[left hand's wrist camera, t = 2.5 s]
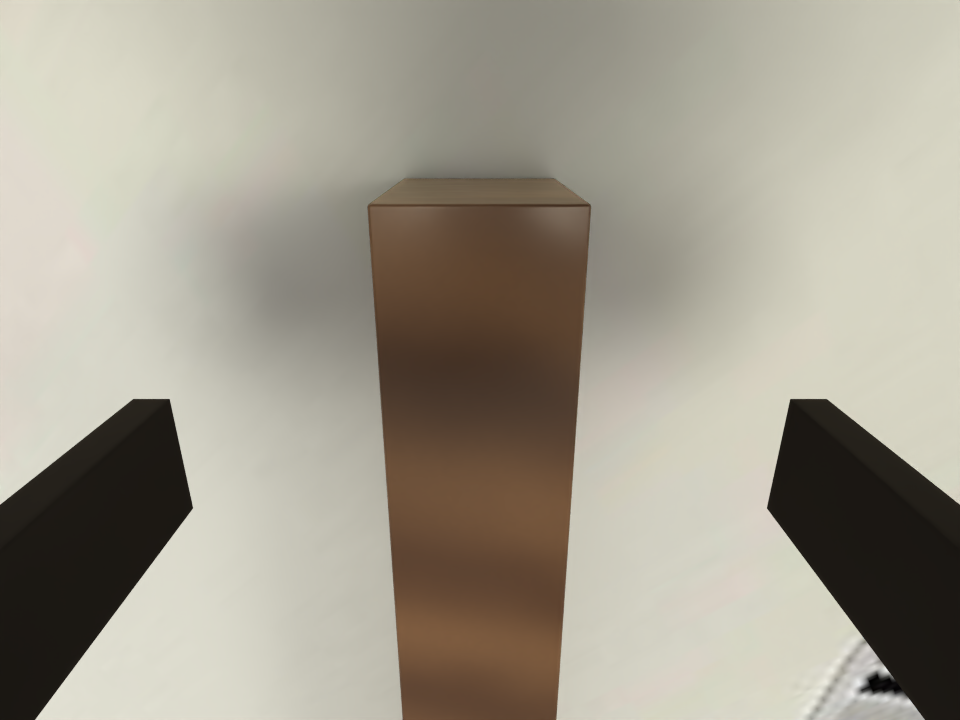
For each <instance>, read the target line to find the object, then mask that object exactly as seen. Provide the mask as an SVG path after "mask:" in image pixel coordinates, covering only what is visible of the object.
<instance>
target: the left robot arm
mask: <svg viewBox="0 0 960 720" xmlns="http://www.w3.org/2000/svg"><path fill="white" fill-rule="evenodd" d="M192 509H193V506H192V501H191V496H190V492H189V487H188V483H187V478H186V473H185V469H184V464H183V459H182V455H181V450H180V445H179V441H178V436H177V431H176V427H175V422H174V417H173V413H172V408H171V403H170V399H133V400H132V401H130V402H129V403H128V404H127V405H125V406H124V407H123V408H122V409H120V410H119V411H118V412H117V413H115V414H114V415H113V416H112V417H110V418H109V419H108V420H106V421H105V422H104V423H103V424H101V425H100V426H99V427H98V428H96V429H95V430H94V431H93V432H91V433H90V434H89V435H88V436H86V437H85V438H84V439H83V440H81V441H80V442H79V443H77V444H76V445H75V446H74V447H72V448H71V449H70V450H69V451H67V452H66V453H65V454H64V455H62V456H61V457H60V458H59V459H57V460H56V461H55V462H54V463H52V464H51V465H50V466H48V467H47V468H46V469H45V470H43V471H42V472H41V473H40V474H38V475H37V476H36V477H35V478H33V479H32V480H31V481H30V482H28V483H27V484H26V485H25V486H23V487H22V488H21V489H20V490H18V491H17V492H16V493H14V494H13V495H12V496H11V497H9V498H8V499H7V500H6V501H4V502H3V503H2V504H1V505H0V720H35V719H36V718H37V716H38V715H39V714H40V712H41V711H42V710H43V708H44V707H45V706H46V704H47V703H48V702H49V700H50V699H51V698H52V696H53V695H54V694H55V692H56V691H57V690H58V688H59V687H60V686H61V684H62V683H63V682H64V680H65V679H66V678H67V676H68V675H69V674H70V672H71V671H72V669H73V668H74V667H75V665H76V664H77V663H78V661H79V660H80V659H81V657H82V656H83V655H84V653H85V652H86V651H87V649H88V648H89V647H90V645H91V644H92V643H93V641H94V640H95V639H96V637H97V636H98V635H99V633H100V632H101V631H102V629H103V628H104V627H105V625H106V624H107V623H108V621H109V620H110V619H111V617H112V616H113V615H114V613H115V612H116V611H117V609H118V608H119V607H120V605H121V604H122V603H123V601H124V600H125V599H126V597H127V596H128V595H129V593H130V592H131V591H132V589H133V588H134V587H135V585H136V584H137V582H138V581H139V580H140V578H141V577H142V576H143V574H144V573H145V572H146V570H147V569H148V568H149V566H150V565H151V564H152V562H153V561H154V560H155V558H156V557H157V556H158V554H159V553H160V552H161V550H162V549H163V548H164V546H165V545H166V544H167V542H168V541H169V540H170V538H171V537H172V536H173V534H174V533H175V532H176V530H177V529H178V528H179V526H180V525H181V524H182V522H183V521H184V520H185V518H186V517H187V516H188V514H189V513H190V512H191V510H192ZM767 509H768V510H769V512H770V513H771V514H772V516H773V517H774V518H775V520H776V521H777V522H778V524H779V525H780V526H781V528H782V529H783V530H784V532H785V533H786V534H787V536H788V537H789V538H790V540H791V541H792V542H793V544H794V545H795V546H796V548H797V549H798V550H799V552H800V553H801V554H802V556H803V557H804V558H805V560H806V561H807V562H808V564H809V565H810V566H811V568H812V569H813V570H814V572H815V573H816V574H817V576H818V577H819V578H820V580H821V581H822V582H823V584H824V585H825V587H826V588H827V589H828V591H829V592H830V593H831V595H832V596H833V597H834V599H835V600H836V601H837V603H838V604H839V605H840V607H841V608H842V609H843V611H844V612H845V613H846V615H847V616H848V617H849V619H850V620H851V621H852V623H853V624H854V625H855V627H856V628H857V629H858V631H859V632H860V633H861V635H862V636H863V637H864V639H865V640H866V641H867V643H868V644H869V645H870V647H871V648H872V649H873V651H874V652H875V653H876V655H877V656H878V657H879V659H880V660H881V661H882V663H883V664H884V665H885V667H886V668H887V669H888V671H889V672H890V674H891V675H892V676H893V678H894V679H895V680H896V682H897V683H898V684H899V686H900V687H901V688H902V690H903V691H904V692H905V694H906V695H907V696H908V698H909V699H910V700H911V702H912V703H913V704H914V706H915V707H916V708H917V710H918V711H919V712H920V714H921V715H922V716H923V718H924V719H925V720H960V505H959V504H958V503H957V502H956V501H954V500H953V499H952V498H951V497H949V496H948V495H947V494H946V493H944V492H943V491H942V490H940V489H939V488H938V487H937V486H935V485H934V484H933V483H932V482H930V481H929V480H928V479H927V478H925V477H924V476H923V475H922V474H920V473H919V472H918V471H917V470H915V469H914V468H913V467H912V466H910V465H909V464H908V463H906V462H905V461H904V460H903V459H901V458H900V457H899V456H898V455H896V454H895V453H894V452H893V451H891V450H890V449H889V448H888V447H886V446H885V445H884V444H883V443H881V442H880V441H879V440H877V439H876V438H875V437H874V436H872V435H871V434H870V433H869V432H867V431H866V430H865V429H864V428H862V427H861V426H860V425H859V424H857V423H856V422H855V421H854V420H852V419H851V418H850V417H848V416H847V415H846V414H845V413H843V412H842V411H841V410H840V409H838V408H837V407H836V406H835V405H833V404H832V403H831V402H830V401H828V400H827V399H790V403H789V408H788V413H787V417H786V422H785V427H784V431H783V436H782V441H781V445H780V450H779V455H778V459H777V464H776V469H775V473H774V478H773V483H772V487H771V492H770V496H769V501H768V506H767Z"/></svg>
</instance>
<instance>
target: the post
mask: <svg viewBox="0 0 960 720" xmlns="http://www.w3.org/2000/svg"><path fill="white" fill-rule="evenodd" d="M590 215H591V205H590V204H589V203H587V202H586V201H585V200H583V199H582V198H580V197H579V196H578V195H576V194H575V193H574V192H572V191H571V190H569V189H568V188H567V187H565V186H564V185H563V184H561V183H560V182H559V181H557V180H556V179H403V180H402V181H401V182H399V183H398V184H396V185H395V186H394V187H392V188H391V189H389V190H388V191H387V192H385V193H384V194H383V195H381V196H380V197H378V198H377V199H376V200H374V201H373V202H371V203H370V204H369V205H368V220H369V235H370V249H371V264H372V278H373V293H374V308H375V322H376V337H377V351H378V366H379V380H380V395H381V409H382V424H383V439H384V453H385V468H386V482H387V497H388V511H389V526H390V540H391V555H392V570H393V584H394V599H395V613H396V628H397V642H398V657H399V671H400V686H401V701H402V715H403V720H556V716H557V701H558V687H559V672H560V657H561V642H562V628H563V613H564V598H565V584H566V569H567V554H568V539H569V525H570V510H571V495H572V480H573V466H574V451H575V436H576V421H577V407H578V392H579V377H580V362H581V348H582V333H583V318H584V303H585V289H586V274H587V259H588V245H589V230H590Z"/></svg>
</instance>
